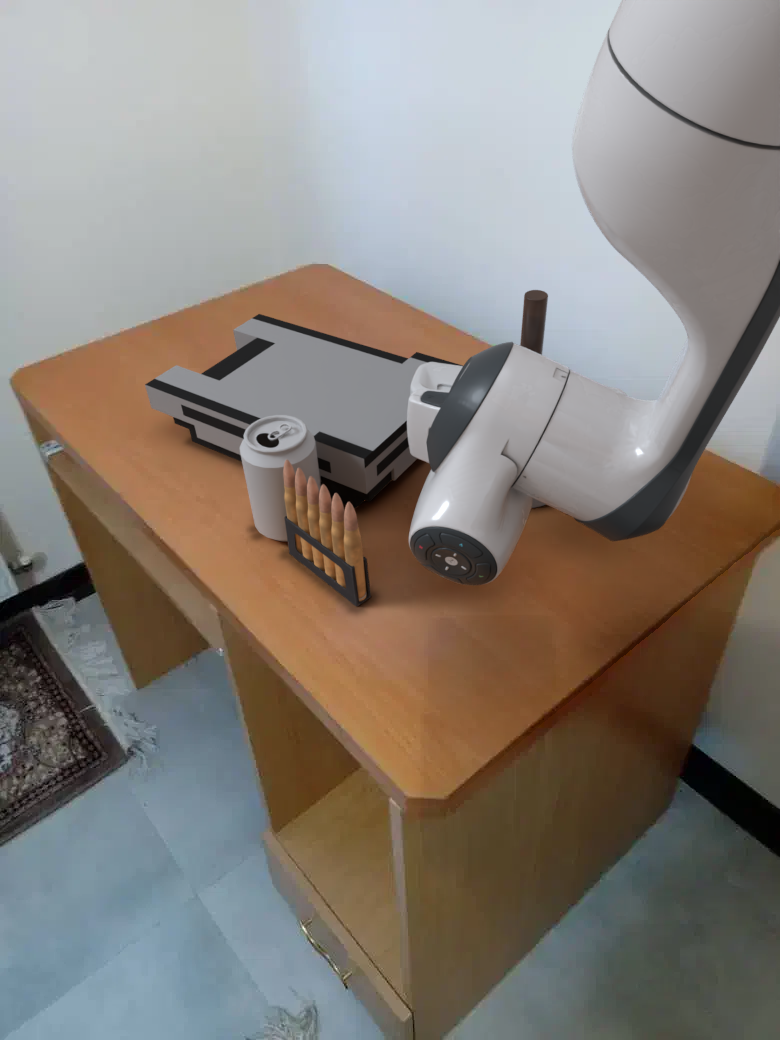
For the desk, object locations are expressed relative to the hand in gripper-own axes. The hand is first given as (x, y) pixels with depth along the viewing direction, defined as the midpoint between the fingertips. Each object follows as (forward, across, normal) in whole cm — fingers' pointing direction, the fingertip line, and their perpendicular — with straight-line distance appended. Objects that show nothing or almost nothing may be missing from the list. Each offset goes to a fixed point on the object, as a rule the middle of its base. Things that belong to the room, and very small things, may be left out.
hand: (531, 365), depth 80 cm
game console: (+2, +27, +14) cm, 31 cm away
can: (-15, +22, +14) cm, 30 cm away
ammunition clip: (-21, +15, +14) cm, 29 cm away
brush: (-1, 0, +10) cm, 10 cm away
